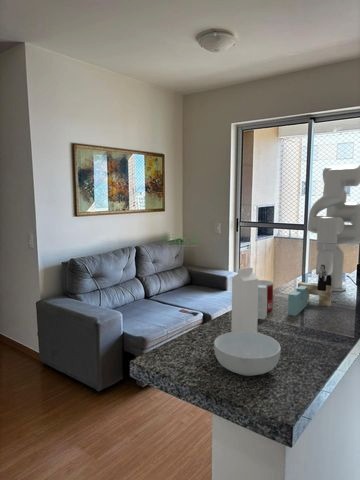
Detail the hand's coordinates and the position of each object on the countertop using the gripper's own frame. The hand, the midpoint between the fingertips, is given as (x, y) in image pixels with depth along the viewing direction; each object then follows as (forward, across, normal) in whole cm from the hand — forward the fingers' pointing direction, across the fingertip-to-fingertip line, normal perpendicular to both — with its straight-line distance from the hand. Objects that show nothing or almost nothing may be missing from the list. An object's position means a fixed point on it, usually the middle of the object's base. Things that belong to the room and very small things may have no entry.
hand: (324, 288), depth 146 cm
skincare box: (+8, +29, -17) cm, 35 cm away
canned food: (+8, +19, -19) cm, 28 cm away
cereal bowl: (+10, +69, -4) cm, 70 cm away
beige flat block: (+7, -1, -4) cm, 8 cm away
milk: (+9, +48, -14) cm, 51 cm away
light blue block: (+7, +12, -7) cm, 16 cm away
